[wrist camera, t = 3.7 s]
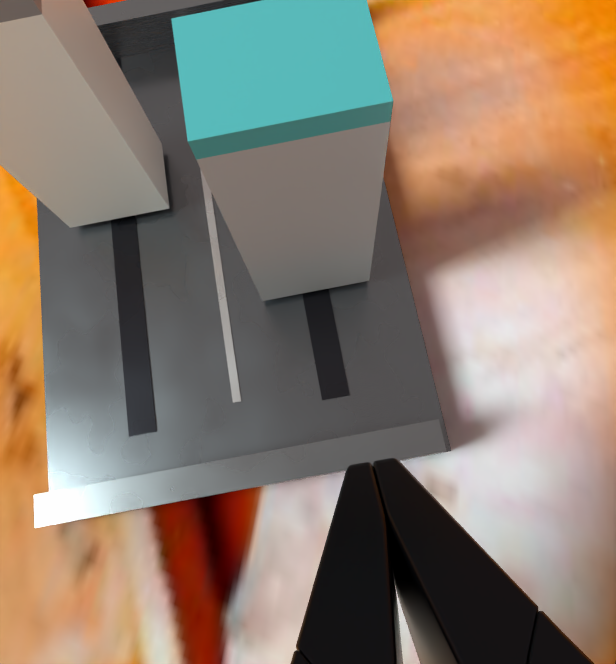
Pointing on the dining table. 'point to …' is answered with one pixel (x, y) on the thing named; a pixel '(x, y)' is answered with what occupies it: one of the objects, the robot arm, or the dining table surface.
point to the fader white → (73, 117)
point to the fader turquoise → (290, 134)
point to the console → (210, 336)
